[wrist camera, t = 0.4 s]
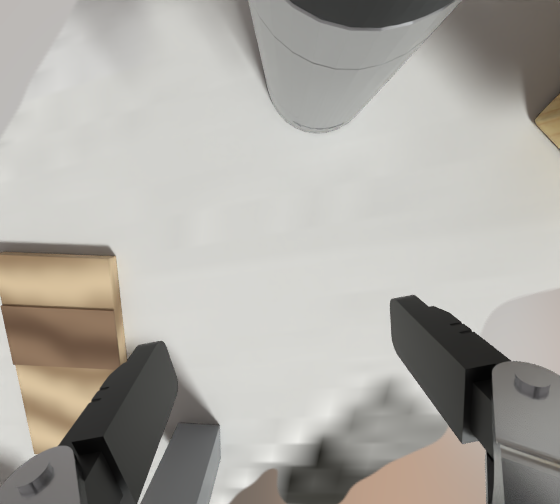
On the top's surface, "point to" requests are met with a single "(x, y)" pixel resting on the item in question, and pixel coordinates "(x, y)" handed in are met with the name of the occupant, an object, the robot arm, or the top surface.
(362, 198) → the top surface
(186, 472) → the tall grey rectangular prism
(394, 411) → the top surface
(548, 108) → the knife block
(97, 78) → the top surface
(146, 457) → the robot arm
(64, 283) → the board
